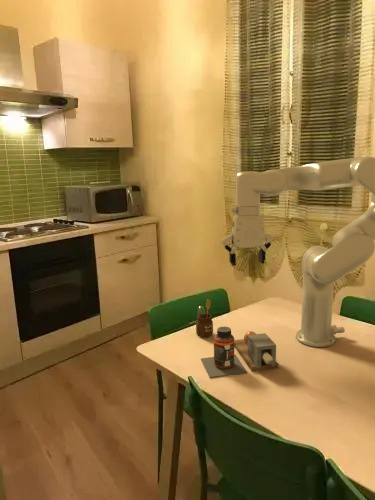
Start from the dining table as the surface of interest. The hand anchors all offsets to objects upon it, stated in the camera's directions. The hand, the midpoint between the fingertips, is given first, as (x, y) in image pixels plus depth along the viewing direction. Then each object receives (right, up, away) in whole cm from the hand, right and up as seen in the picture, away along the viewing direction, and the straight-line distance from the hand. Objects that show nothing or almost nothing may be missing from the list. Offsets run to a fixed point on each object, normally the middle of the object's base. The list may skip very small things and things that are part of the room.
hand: (247, 263), depth 128 cm
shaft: (+2, -27, -11) cm, 29 cm away
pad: (-9, -30, -12) cm, 33 cm away
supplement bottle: (-9, -30, -12) cm, 33 cm away
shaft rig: (+1, -28, -6) cm, 29 cm away
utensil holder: (-13, -25, +10) cm, 30 cm away
